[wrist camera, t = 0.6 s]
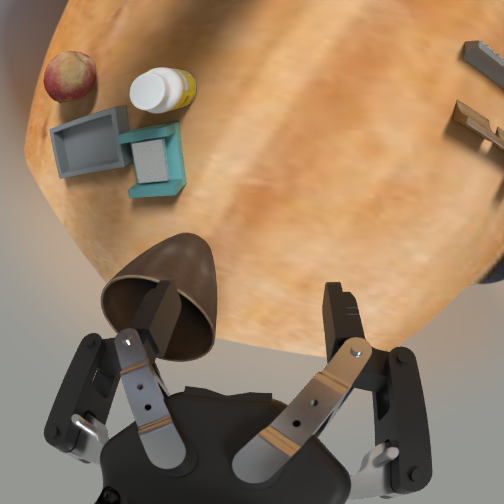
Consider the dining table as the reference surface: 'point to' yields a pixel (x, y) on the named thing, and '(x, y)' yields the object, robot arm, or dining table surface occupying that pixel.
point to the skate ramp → (496, 71)
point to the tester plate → (151, 160)
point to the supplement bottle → (163, 90)
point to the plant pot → (188, 285)
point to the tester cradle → (173, 155)
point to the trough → (92, 143)
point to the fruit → (69, 76)
